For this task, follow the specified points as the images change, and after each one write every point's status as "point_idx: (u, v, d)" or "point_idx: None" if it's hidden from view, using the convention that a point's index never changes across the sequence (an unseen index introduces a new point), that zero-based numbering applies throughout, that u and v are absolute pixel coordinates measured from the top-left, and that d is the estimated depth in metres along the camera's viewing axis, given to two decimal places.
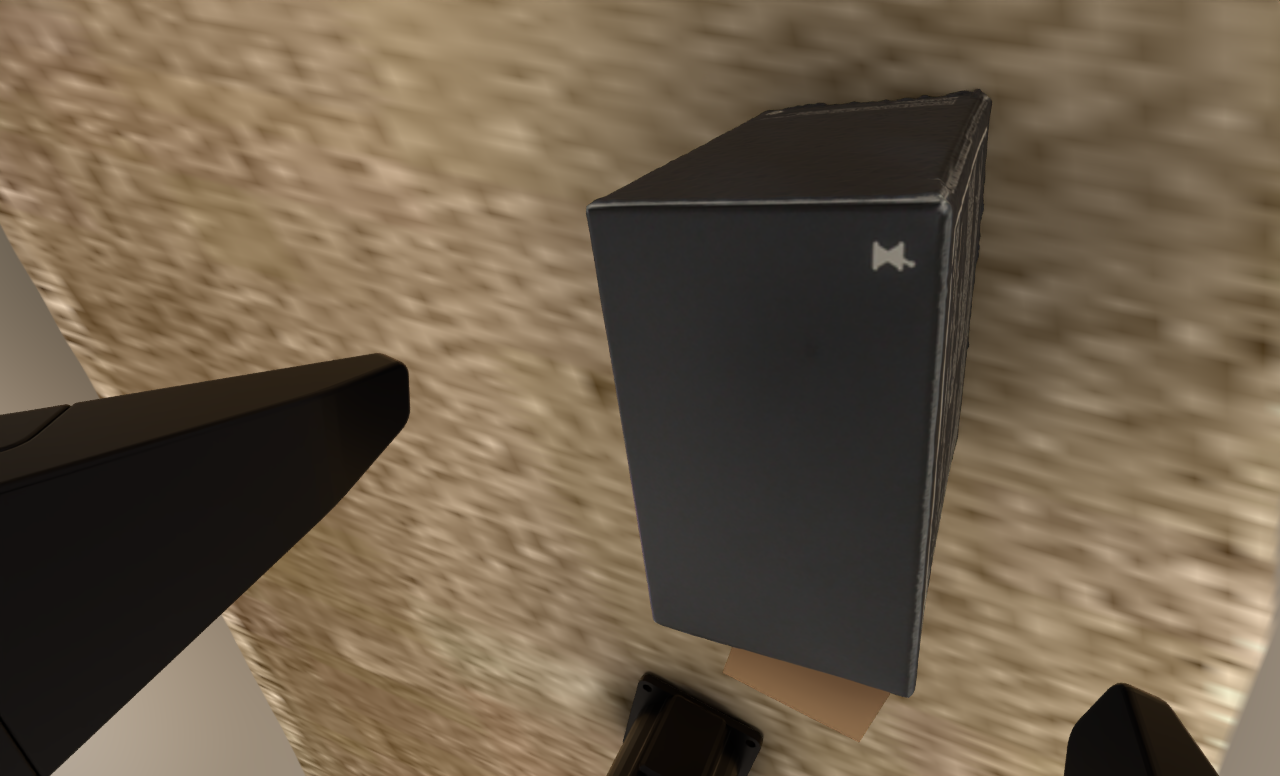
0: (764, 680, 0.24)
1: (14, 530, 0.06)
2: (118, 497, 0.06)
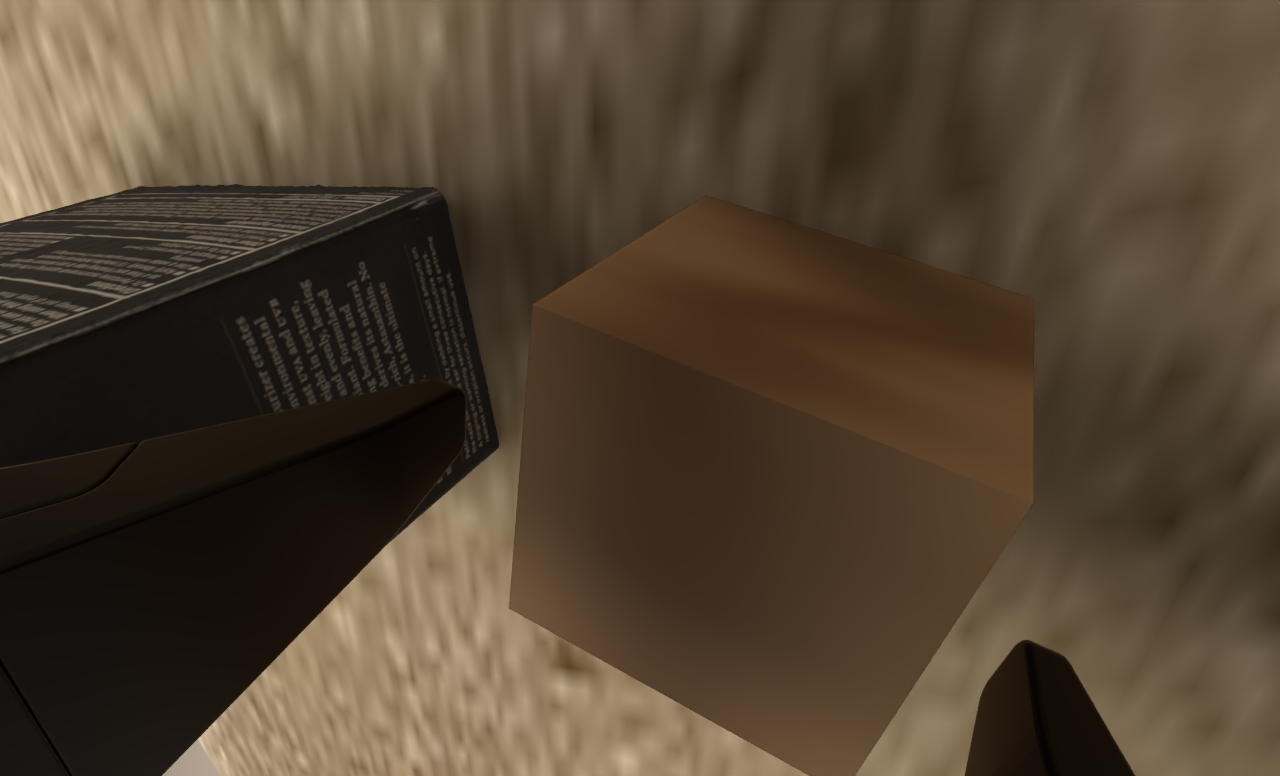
0: (826, 703, 0.08)
1: (91, 580, 0.06)
2: (191, 541, 0.06)
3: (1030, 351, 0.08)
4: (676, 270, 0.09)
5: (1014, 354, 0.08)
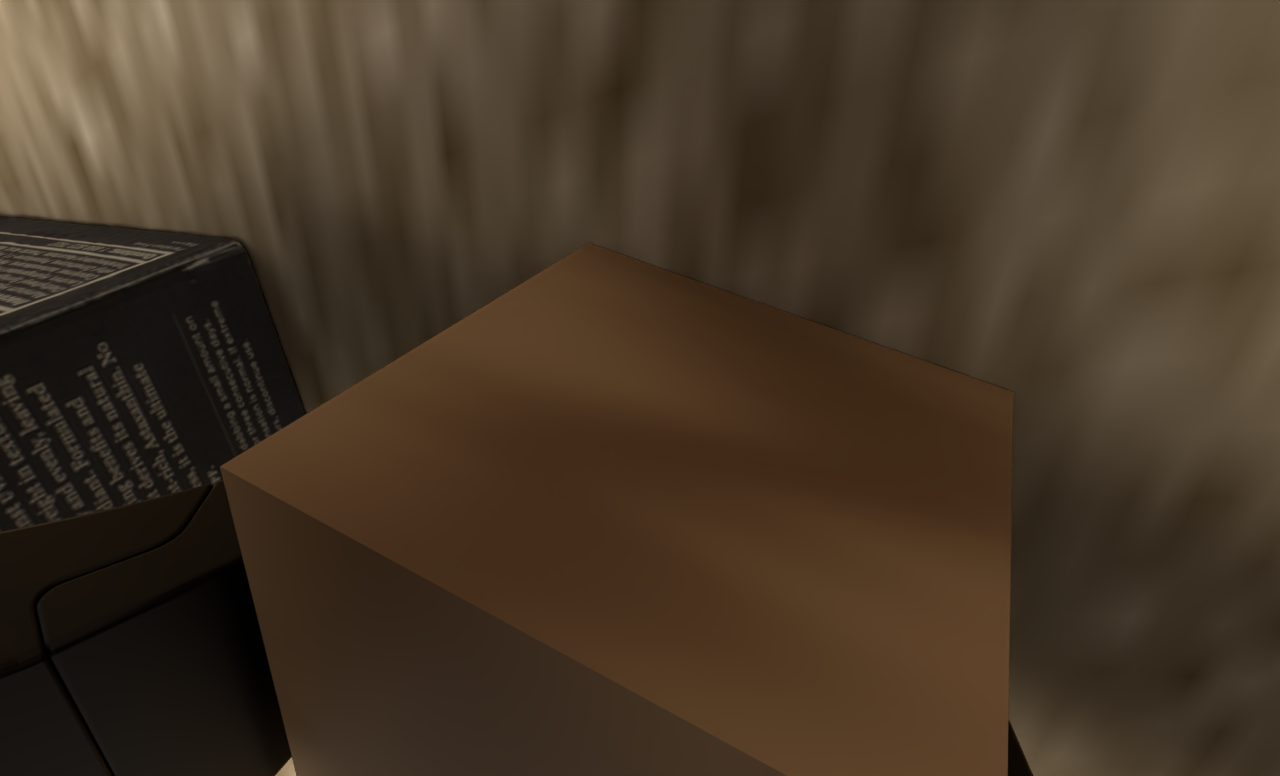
0: None
1: (177, 636, 0.05)
2: None
3: (1006, 499, 0.06)
4: (494, 378, 0.06)
5: (982, 507, 0.05)
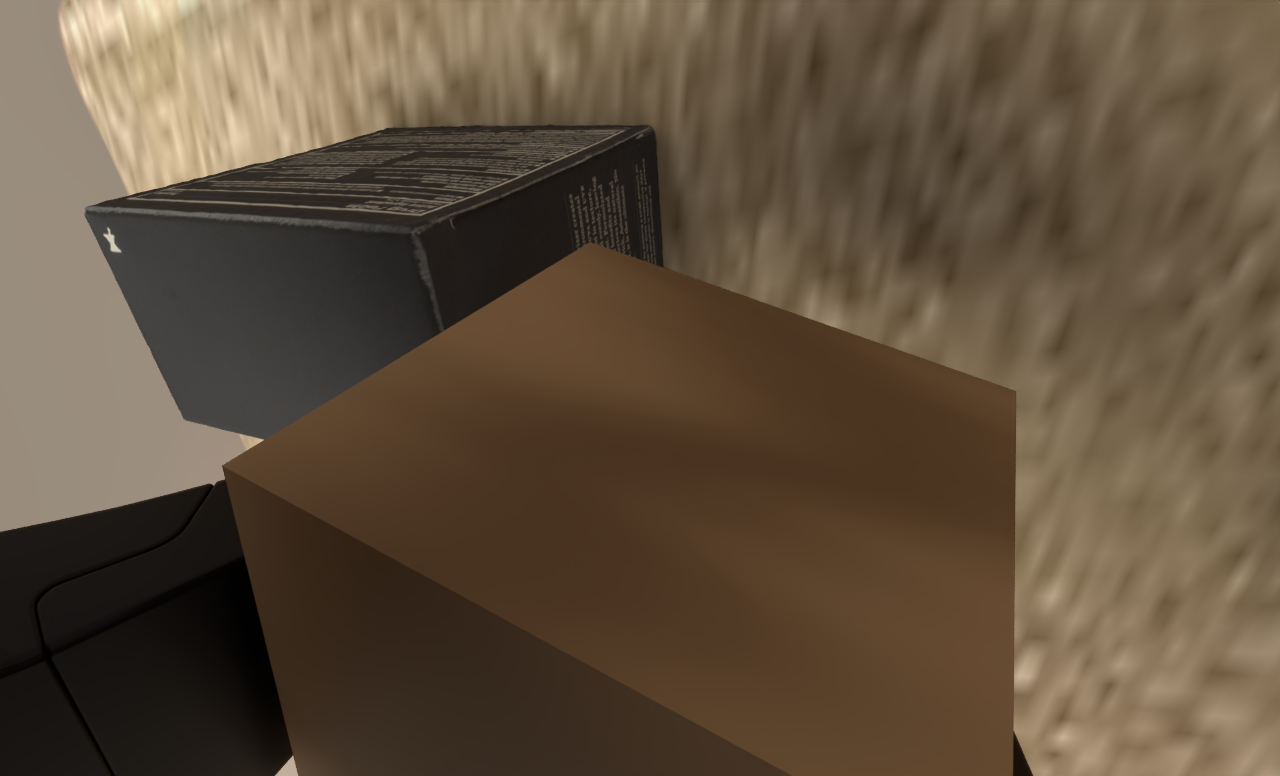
0: None
1: (176, 636, 0.05)
2: None
3: (1010, 498, 0.06)
4: (497, 377, 0.06)
5: (986, 507, 0.05)
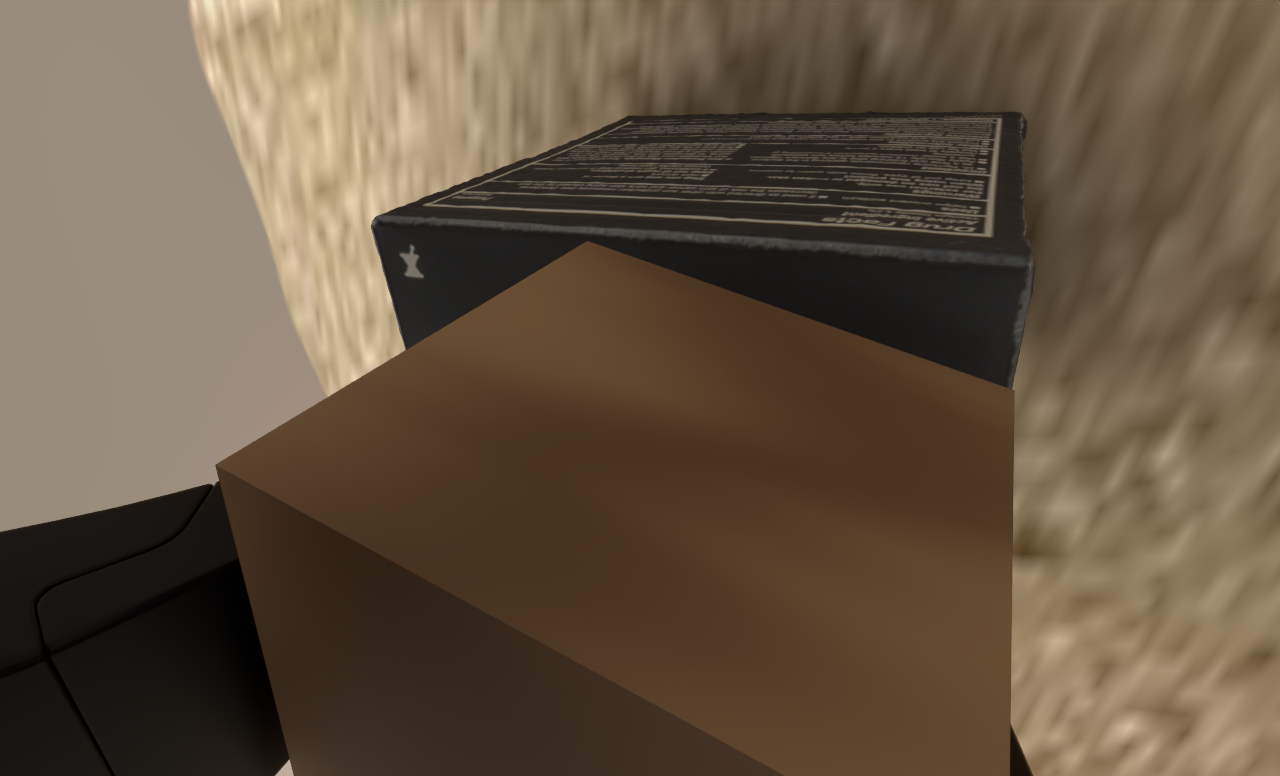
0: None
1: (176, 636, 0.05)
2: None
3: (1008, 497, 0.06)
4: (493, 377, 0.06)
5: (984, 506, 0.05)
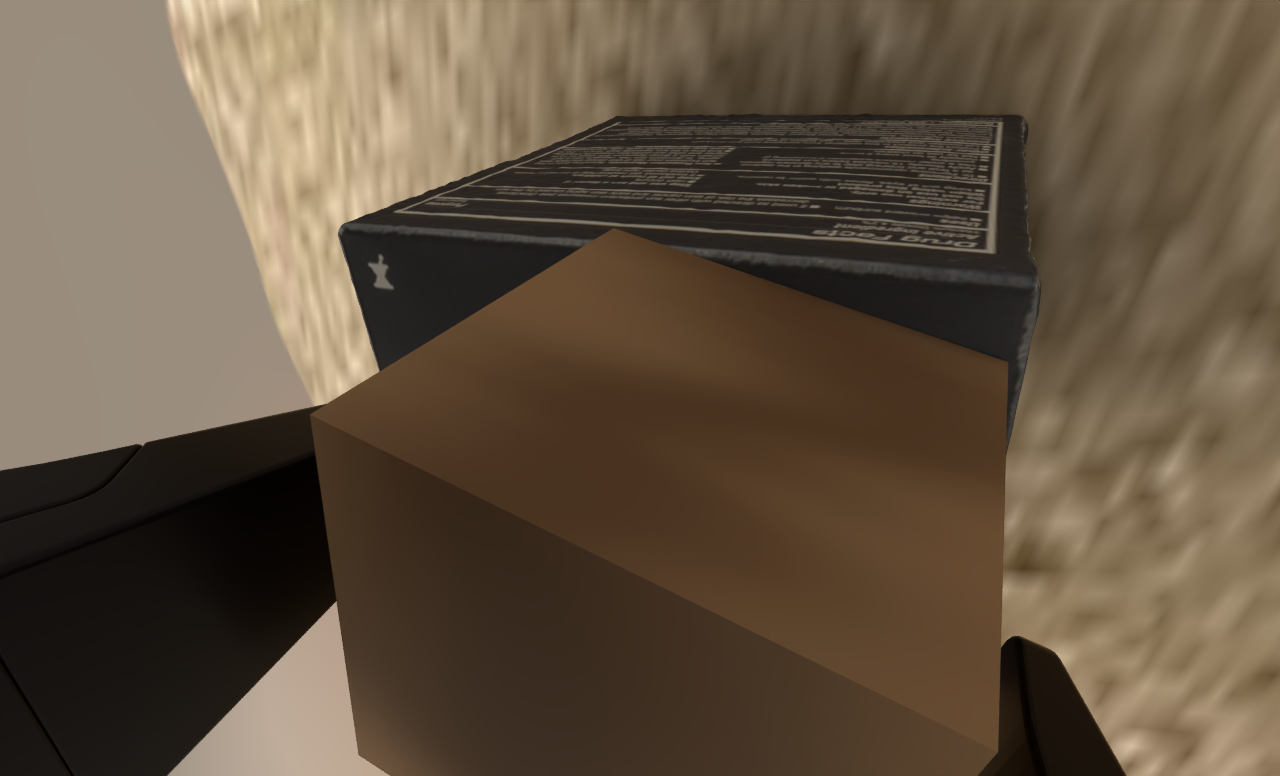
0: None
1: (95, 582, 0.06)
2: (195, 542, 0.06)
3: (1001, 451, 0.06)
4: (540, 345, 0.06)
5: (980, 458, 0.06)
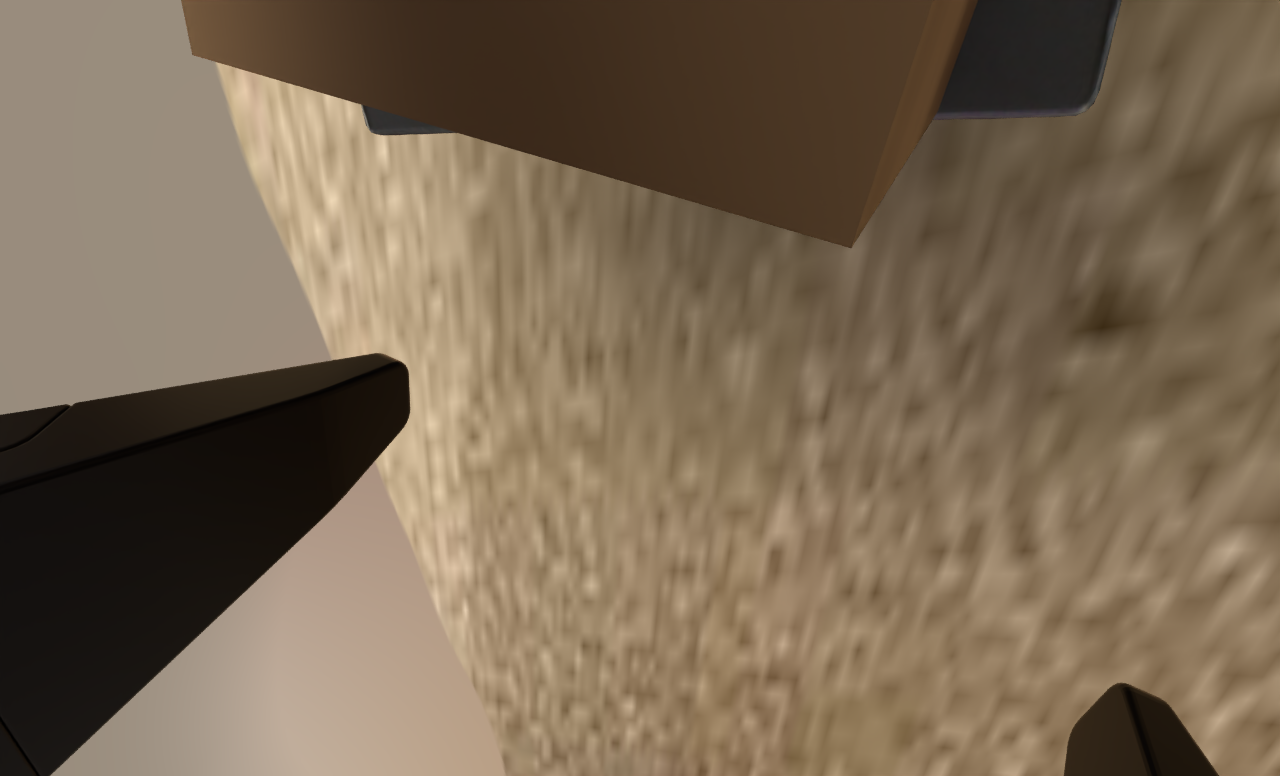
0: None
1: (14, 530, 0.06)
2: (118, 497, 0.06)
3: None
4: None
5: None
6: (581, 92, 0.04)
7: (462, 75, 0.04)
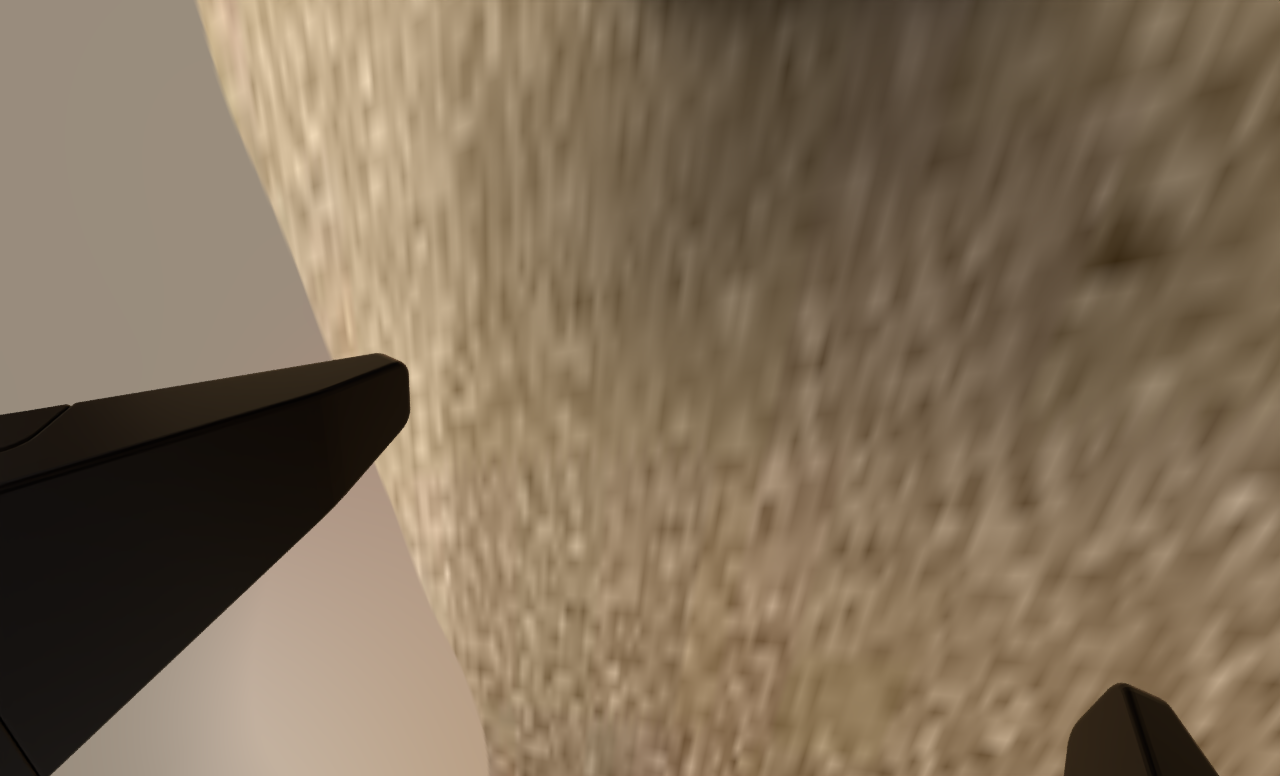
0: None
1: (14, 530, 0.06)
2: (118, 497, 0.06)
3: None
4: None
5: None
6: None
7: None
